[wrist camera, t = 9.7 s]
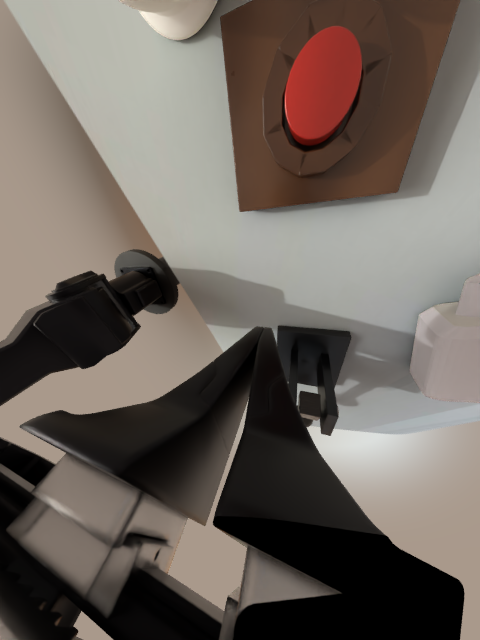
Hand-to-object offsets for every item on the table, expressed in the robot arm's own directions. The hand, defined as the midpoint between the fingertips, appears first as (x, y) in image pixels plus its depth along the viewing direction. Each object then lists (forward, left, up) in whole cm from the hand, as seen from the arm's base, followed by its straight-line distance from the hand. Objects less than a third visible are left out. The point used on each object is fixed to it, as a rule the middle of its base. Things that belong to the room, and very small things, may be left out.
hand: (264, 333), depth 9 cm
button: (+2, +10, -9) cm, 14 cm away
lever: (+4, -19, -8) cm, 21 cm away
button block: (+2, +10, -13) cm, 17 cm away
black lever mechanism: (+4, -15, -13) cm, 20 cm away
